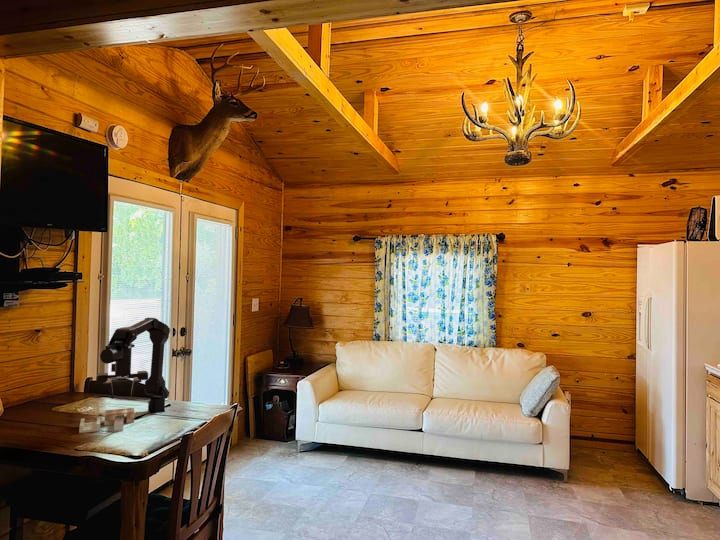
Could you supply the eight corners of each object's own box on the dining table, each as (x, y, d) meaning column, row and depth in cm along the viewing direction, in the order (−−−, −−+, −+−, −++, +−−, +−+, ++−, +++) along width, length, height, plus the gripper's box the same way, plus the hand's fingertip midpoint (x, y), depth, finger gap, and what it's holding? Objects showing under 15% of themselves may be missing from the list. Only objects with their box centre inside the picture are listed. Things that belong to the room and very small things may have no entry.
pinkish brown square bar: (115, 419, 204) (116, 412, 204) (124, 419, 206) (124, 411, 206) (113, 432, 188) (114, 424, 188) (122, 431, 189) (123, 423, 189)
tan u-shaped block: (133, 418, 206) (133, 407, 206) (134, 422, 200) (134, 411, 200) (104, 421, 201) (105, 410, 201) (104, 425, 195) (104, 414, 195)
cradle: (100, 423, 197) (100, 416, 197) (99, 430, 188) (100, 423, 188) (81, 425, 194) (81, 418, 194) (79, 433, 185) (79, 425, 185)
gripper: (147, 355, 205) (145, 391, 205) (98, 357, 197) (96, 395, 196) (148, 359, 195) (147, 397, 195) (97, 362, 187) (95, 401, 186)
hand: (121, 397), depth 193 cm, fingers open, 7 cm apart
